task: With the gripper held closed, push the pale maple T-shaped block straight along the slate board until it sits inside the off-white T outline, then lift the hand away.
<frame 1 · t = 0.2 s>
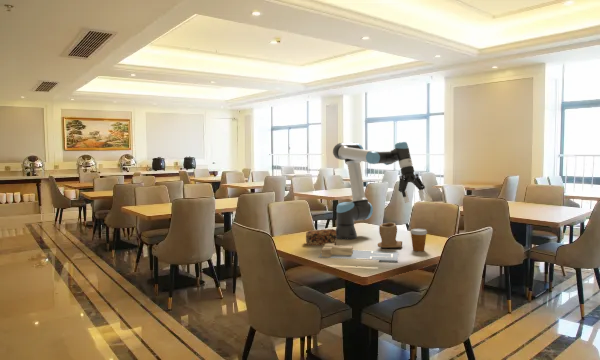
hand: (415, 201, 255), 28 cm above the table, tool tilted 20°, fingers open, 13 cm apart
bread: (321, 245, 268), on the table
t board: (358, 256, 239), on the table
disposable coffee cup: (418, 250, 252), on the table
t block: (335, 253, 242), point 1 cm above the table, touching t board
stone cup: (390, 248, 259), on the table
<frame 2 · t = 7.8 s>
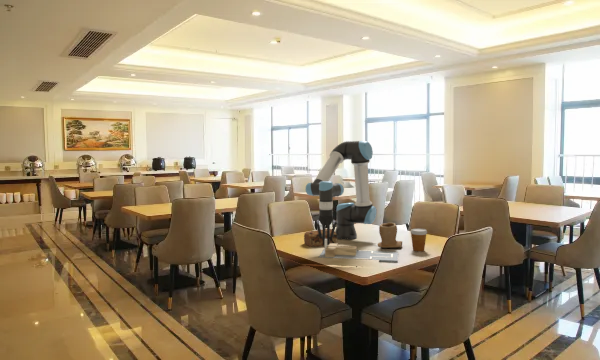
hand: (326, 250, 243), 2 cm above the table, tool pointing down, fingers closed
t block: (339, 253, 241), point 1 cm above the table, touching t board
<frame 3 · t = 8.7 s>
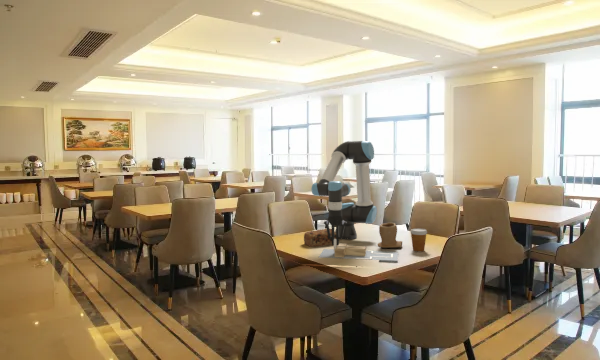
hand: (335, 251, 242), 2 cm above the table, tool pointing down, fingers closed
t block: (348, 254, 240), point 1 cm above the table, touching gripper
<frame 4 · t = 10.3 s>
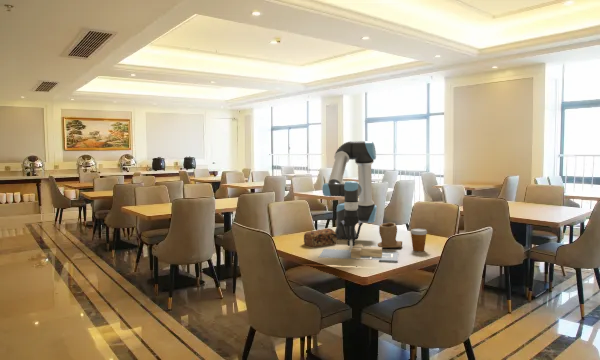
hand: (351, 251, 240), 2 cm above the table, tool pointing down, fingers closed
t block: (364, 254, 238), point 1 cm above the table, touching t board
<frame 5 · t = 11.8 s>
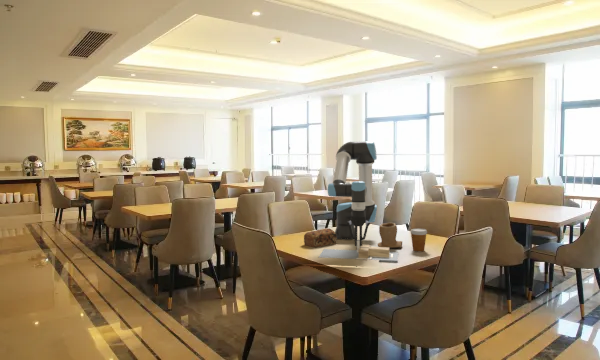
hand: (358, 251, 239), 2 cm above the table, tool pointing down, fingers closed
t block: (371, 255, 237), point 1 cm above the table, touching gripper, t board
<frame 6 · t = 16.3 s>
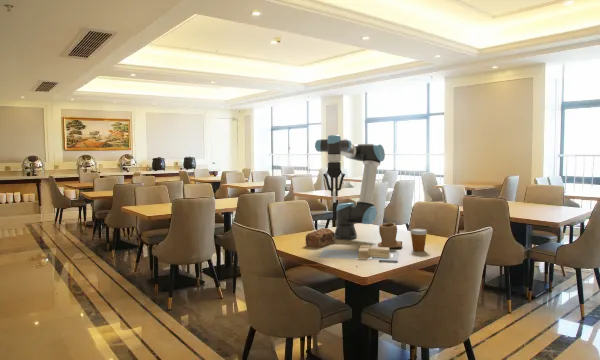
hand: (334, 202, 252), 28 cm above the table, tool pointing down, fingers closed
t block: (371, 255, 237), point 1 cm above the table, touching t board
at the end: t block 0.3 cm from the target spot on the t board, point 1.0 cm above the t board's base; t block tilted 0°; t block moved 20.1 cm from its start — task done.
